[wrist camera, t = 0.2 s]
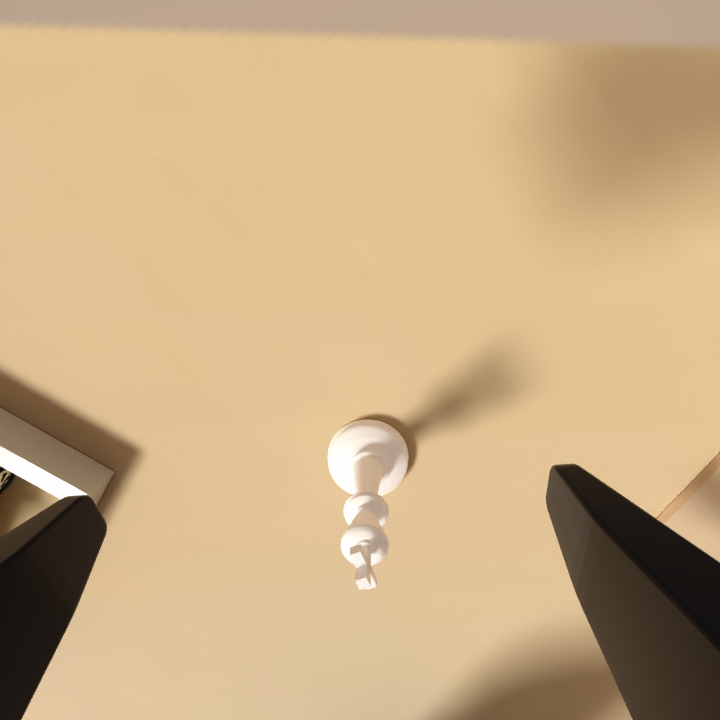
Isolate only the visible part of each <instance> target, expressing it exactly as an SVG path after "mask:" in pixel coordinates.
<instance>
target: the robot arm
mask: <svg viewBox="0 0 720 720" xmlns="http://www.w3.org/2000/svg"><path fill="white" fill-rule="evenodd" d="M546 504H547V509H548V512H549V515H550V518H551V521H552V524H553V527H554V530H555V533H556V536H557V539H558V542H559V545H560V548H561V551H562V554H563V557H564V560H565V563H566V566H567V569H568V572H569V575H570V578H571V581H572V584H573V586H574V589H575V592H576V594H577V597H578V599H579V601H580V604H581V606H582V608H583V611H584V613H585V615H586V617H587V620H588V622H589V624H590V626H591V628H592V631H593V633H594V635H595V637H596V639H597V642H598V644H599V646H600V648H601V650H602V653H603V655H604V657H605V659H606V661H607V664H608V666H609V668H610V670H611V673H612V675H613V677H614V679H615V681H616V684H617V686H618V688H619V690H620V692H621V695H622V697H623V699H624V701H625V703H626V706H627V708H628V710H629V712H630V714H631V717H632V719H633V720H720V562H719V561H717V560H716V559H714V558H713V557H711V556H710V555H709V554H707V553H706V552H704V551H703V550H701V549H700V548H698V547H697V546H695V545H694V544H692V543H691V542H690V541H688V540H687V539H685V538H684V537H682V536H681V535H679V534H678V533H676V532H675V531H673V530H672V529H671V528H669V527H668V526H666V525H665V524H663V523H662V522H660V521H659V520H657V519H656V518H654V517H653V516H652V515H650V514H649V513H647V512H646V511H644V510H643V509H641V508H640V507H638V506H637V505H635V504H634V503H633V502H631V501H630V500H628V499H627V498H625V497H624V496H622V495H621V494H619V493H618V492H616V491H615V490H614V489H612V488H611V487H609V486H608V485H606V484H605V483H603V482H602V481H600V480H599V479H597V478H596V477H595V476H593V475H592V474H590V473H589V472H587V471H586V470H584V469H583V468H581V467H580V466H578V465H576V464H561V465H554V466H552V468H551V469H550V474H549V480H548V487H547V494H546ZM106 531H107V525H106V521H105V519H104V518H103V516H102V514H101V512H100V511H99V509H98V507H97V505H96V504H95V502H94V500H93V499H92V498H91V497H90V496H88V495H73V496H67V497H64V498H62V499H60V500H59V501H57V502H56V503H54V504H53V505H51V506H49V507H48V508H46V509H45V510H43V511H42V512H40V513H38V514H37V515H35V516H34V517H32V518H30V519H29V520H27V521H26V522H24V523H23V524H21V525H19V526H18V527H16V528H15V529H13V530H11V531H10V532H8V533H7V534H5V535H4V536H2V537H0V720H21V719H22V717H23V715H24V713H25V711H26V709H27V707H28V705H29V703H30V701H31V699H32V697H33V695H34V693H35V691H36V689H37V687H38V685H39V683H40V681H41V679H42V677H43V675H44V673H45V671H46V669H47V667H48V665H49V663H50V661H51V659H52V657H53V655H54V653H55V651H56V649H57V647H58V645H59V643H60V641H61V639H62V637H63V635H64V633H65V631H66V629H67V627H68V625H69V623H70V621H71V619H72V617H73V615H74V612H75V610H76V608H77V605H78V603H79V601H80V598H81V596H82V593H83V591H84V588H85V586H86V583H87V581H88V578H89V576H90V573H91V571H92V568H93V566H94V563H95V561H96V558H97V556H98V553H99V550H100V548H101V545H102V543H103V540H104V538H105V535H106Z"/></svg>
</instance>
